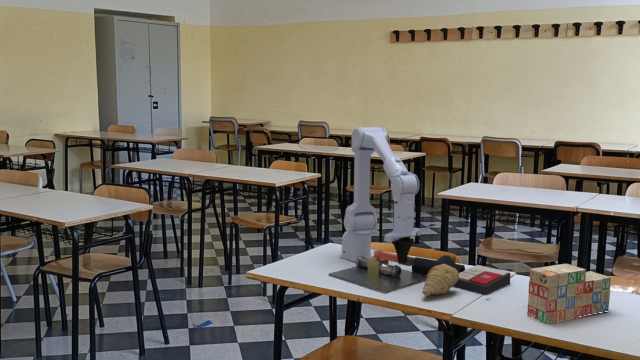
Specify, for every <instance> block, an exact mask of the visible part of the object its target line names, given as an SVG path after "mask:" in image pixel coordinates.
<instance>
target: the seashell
mask: <svg viewBox="0 0 640 360" xmlns="http://www.w3.org/2000/svg"><path fill="white" fill-rule="evenodd" d="M426 276H427V278H426V281H424V286H423V287H422V292H421V293H422V294H423V295H424V296H431V295H444V294H446V293H449V291H450V289H451V288H453V287H452V286H453V285H454V284H455V283H457V281H458V277H459V273H458V271H457V270H456V269H455V268H453V267H451V266H449V265H446V264H441V265H437V266H434V267H432V268H431V269H430V270H429V272H428V274H427V275H426Z"/></svg>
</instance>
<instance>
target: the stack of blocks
mask: <svg viewBox="0 0 640 360" xmlns="http://www.w3.org/2000/svg"><path fill="white" fill-rule="evenodd" d="M611 281H612V280H611V276H607V275H604V274H601V273H598V272H594V271H591V270H590V271H587V269H585V268H582V267H580V266H579V267H578V266H575V265H572V264H569V263H562V264H555V265H550V266H549V265H548V266H542V267H534V268H530V270H529V282H528V299H527V301H528V302H527V312H526V315H528V316H527V317H529V316H530V317H529V318H531V317H533V318H535V319H537V320H536V321H538V320H539V321H538V322H540V321H541V322H540V323H542V322H544V323H546V324H545V325H548V324H547V323H550V324H553V323H552V322H555V323H558V322H557V321H561V320H567V319H572V318H576V317H579V316H584V315H588V314H594V313H599V312H605V311H608V312H609V309H610V308H609V307H610V298H611V283H612V282H611ZM533 318H532V319H533ZM535 319H534V320H535ZM576 319H577V318H576ZM572 320H573V319H572ZM567 321H568V320H567ZM561 322H562V321H561ZM544 323H543V324H544Z"/></svg>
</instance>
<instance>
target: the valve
mask: <svg viewBox="0 0 640 360" xmlns="http://www.w3.org/2000/svg"><path fill="white" fill-rule="evenodd" d="M355 265H356V266H353V267H349V268H345V269H341V270H338V271H334V272H328V276H330V277H333V278H336V279H338V280H342V281H345V282H348V283H351V284H354V285H357V286H360V287H363V288H366V289H369V290H373V291H375V292H378V293H381V294H389V293H391V292H395V291H397V290H400V289H403V288H404V289H405V288H408V287H410V286H413V285H416V284H420V283H423V282H425V281H426V278H427V275H422V274H419V273H415V272H412V270H407V269H404V268H402V267H401V266H400V265H392V264H389V261H388V260H384V259H380V258H375V257H374V256H372V258H368V259H367V258H365V257H364V256H358V257H357V259H356V262H355Z"/></svg>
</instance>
